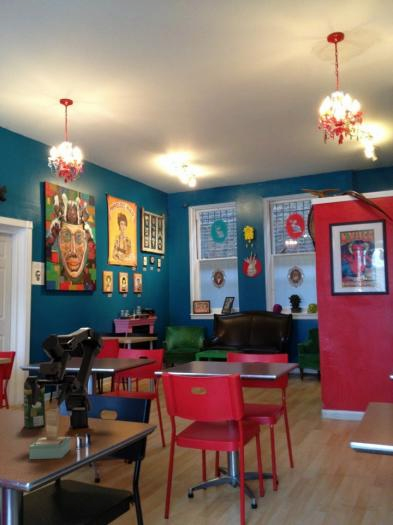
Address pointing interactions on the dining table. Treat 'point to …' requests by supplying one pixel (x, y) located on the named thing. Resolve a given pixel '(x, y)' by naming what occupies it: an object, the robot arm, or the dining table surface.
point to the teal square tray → (50, 450)
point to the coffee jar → (34, 409)
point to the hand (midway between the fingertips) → (45, 405)
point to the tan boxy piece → (51, 429)
